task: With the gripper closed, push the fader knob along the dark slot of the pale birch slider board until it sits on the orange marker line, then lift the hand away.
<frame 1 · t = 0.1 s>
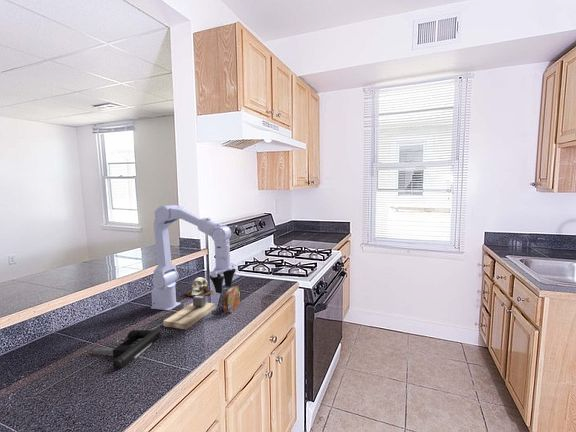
hand: (223, 289, 124), 10 cm above the counter, tool pointing down, fingers open, 7 cm apart
slider board: (191, 316, 123), on the counter
tin: (232, 308, 131), on the counter
skull: (199, 294, 149), on the counter
door handle: (124, 351, 99), on the counter
fader knob: (199, 300, 128), point 4 cm above the counter, slide at 0.0 cm
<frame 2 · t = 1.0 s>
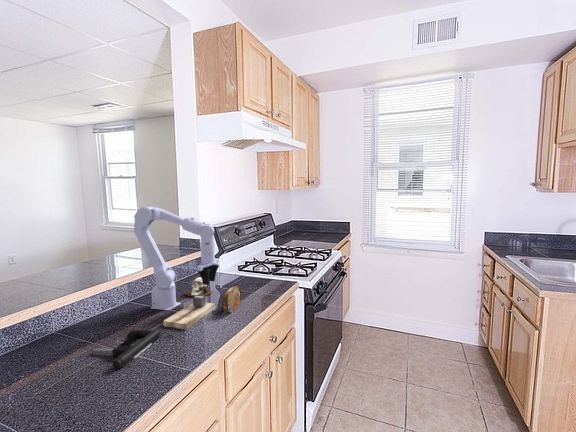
hand: (209, 282, 135), 9 cm above the counter, tool pointing down, fingers open, 4 cm apart
nothing on the counter moved.
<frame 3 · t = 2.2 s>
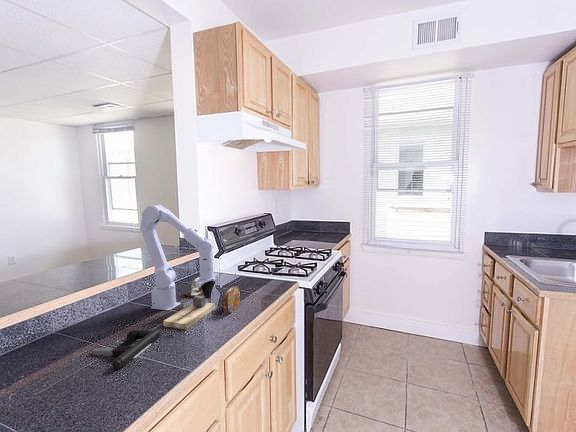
hand: (207, 298, 134), 3 cm above the counter, tool pointing down, fingers closed
nothing on the counter moved.
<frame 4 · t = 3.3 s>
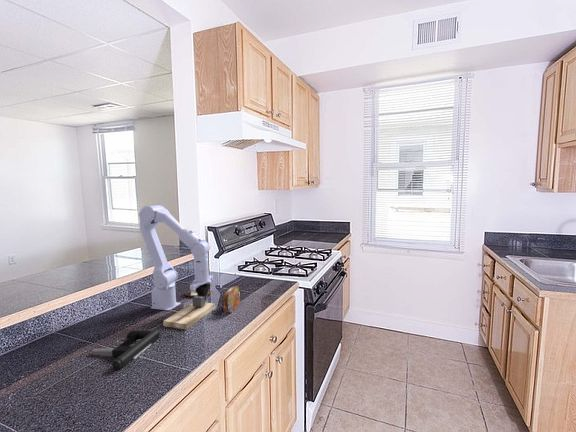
hand: (202, 301, 131), 3 cm above the counter, tool pointing down, fingers closed
fader knob: (198, 301, 128), point 4 cm above the counter, slide at 0.3 cm, touching gripper
everything else where it was.
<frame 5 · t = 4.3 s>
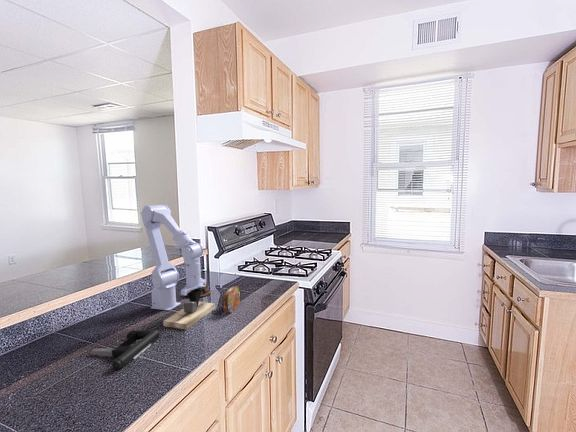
hand: (194, 306, 125), 3 cm above the counter, tool pointing down, fingers closed
fader knob: (190, 306, 122), point 4 cm above the counter, slide at 6.1 cm, touching gripper
everything else where it was.
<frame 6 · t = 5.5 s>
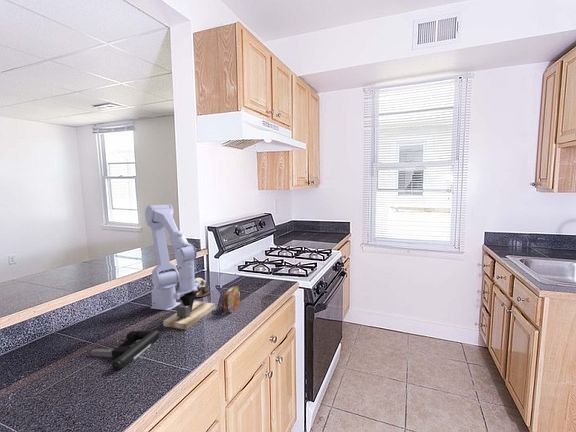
hand: (188, 310, 121), 3 cm above the counter, tool pointing down, fingers closed
fader knob: (183, 310, 118), point 4 cm above the counter, slide at 10.4 cm, touching gripper
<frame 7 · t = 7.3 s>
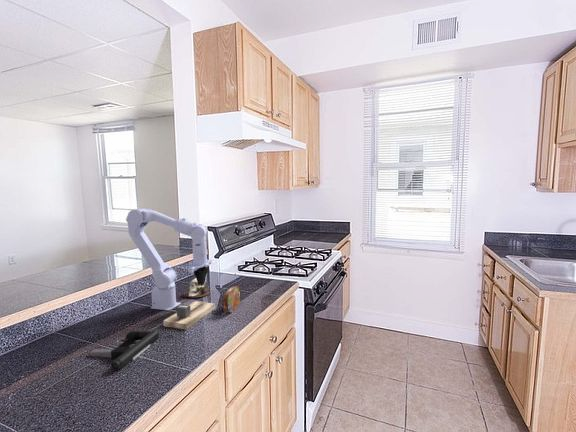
hand: (201, 284, 133), 9 cm above the counter, tool pointing down, fingers closed
fader knob: (183, 310, 118), point 4 cm above the counter, slide at 10.5 cm
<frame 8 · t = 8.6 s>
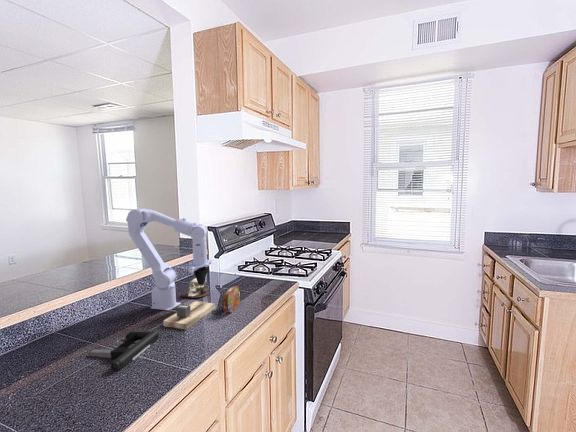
hand: (201, 284, 133), 9 cm above the counter, tool pointing down, fingers closed
at the end: fader knob slide at 10.5 cm; the gripper is holding nothing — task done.
